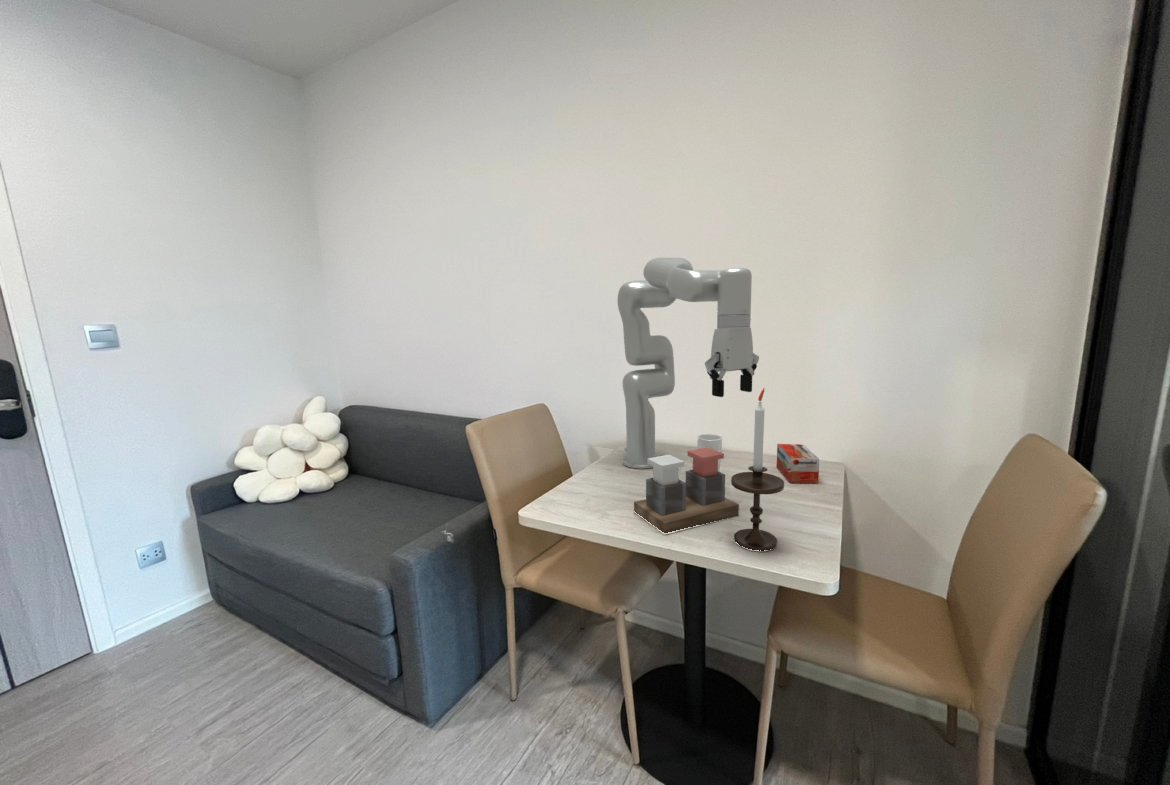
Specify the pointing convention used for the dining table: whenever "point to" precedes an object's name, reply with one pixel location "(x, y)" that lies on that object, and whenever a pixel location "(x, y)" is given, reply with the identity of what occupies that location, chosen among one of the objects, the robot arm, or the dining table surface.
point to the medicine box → (797, 463)
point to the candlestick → (757, 490)
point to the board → (686, 502)
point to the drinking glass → (710, 443)
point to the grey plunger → (665, 469)
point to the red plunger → (705, 461)
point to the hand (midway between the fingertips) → (732, 393)
